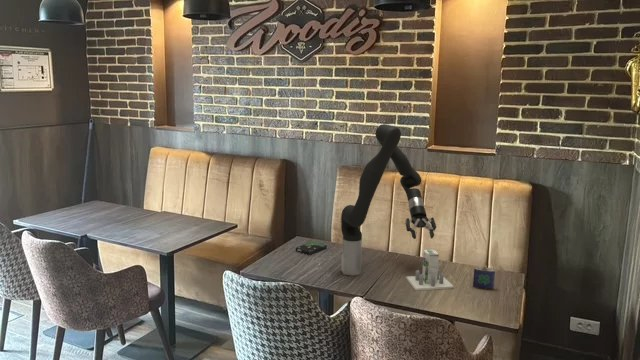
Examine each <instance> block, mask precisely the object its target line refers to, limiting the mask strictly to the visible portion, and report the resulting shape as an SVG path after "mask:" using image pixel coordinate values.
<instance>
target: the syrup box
mask: <svg viewBox="0 0 640 360" xmlns="http://www.w3.org/2000/svg"><path fill="white" fill-rule="evenodd" d="M422 257H423V260H422V273H421V274H423V281H424V282H425V283H426V284H427V283H431V277H432V276H436V278H435V283H437V275H438V269H439V259H440V258H439V257H440V254H439V252H438V251H436V249H424V250H423V256H422Z"/></svg>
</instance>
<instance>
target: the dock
mask: <svg viewBox="0 0 640 360" xmlns="http://www.w3.org/2000/svg"><path fill="white" fill-rule="evenodd" d="M440 271H441V270H440V269H439V268H438V275H437V283H435V278H436V276H432V277H431V283H427V284H426V283H425V282H424V281H423V274H422V273H420V270H419V269H417V270H416V269H415V275H414V276H413V275H412V276H411V275H410V276H409V275H408V276H405V280H407V282H408V283H409V285H410V286H411V287H412V288H413V289H414V290H415V291H432V290H433V291H435V290H447V289H448V290H452V289H454V286H453V284H452V283H451V282H450V281H449V280H447V278H446V277H444V276H445V273H443V272H440Z"/></svg>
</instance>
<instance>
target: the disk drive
mask: <svg viewBox="0 0 640 360" xmlns="http://www.w3.org/2000/svg"><path fill="white" fill-rule="evenodd" d="M327 247H328V246H327V244H324V243H321V242H316V241H310V242H308V243H305V244H302V245H299V246H296V247H295V252H296V251H298V252H297V253H299V252H301V253H300V254H302V253H304V254H303V255H306V254H307V255H306V256H309V255H310V256H312V254H313V255H314V254H317V253H320V252H322V251H324V250H325V251H326V250H327Z"/></svg>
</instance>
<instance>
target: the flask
mask: <svg viewBox="0 0 640 360" xmlns="http://www.w3.org/2000/svg"><path fill="white" fill-rule="evenodd" d="M487 267H488V265H484V266H483V267H480V266H478V267H474V269H473V282H472V287H473V288H475V289H480V290H491V291H492V290H494V288H495V278H496V270H495V269H489V268H487Z"/></svg>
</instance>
